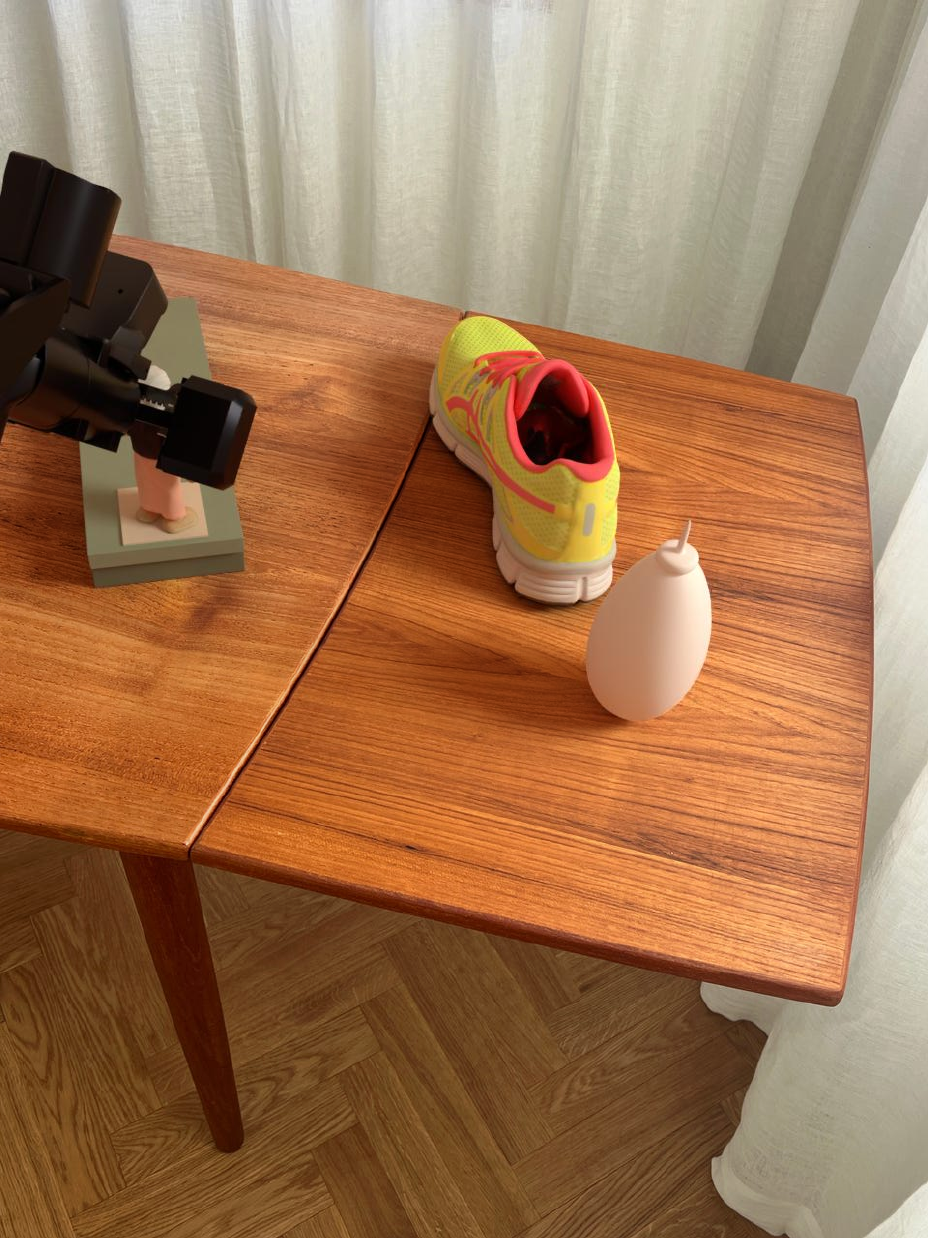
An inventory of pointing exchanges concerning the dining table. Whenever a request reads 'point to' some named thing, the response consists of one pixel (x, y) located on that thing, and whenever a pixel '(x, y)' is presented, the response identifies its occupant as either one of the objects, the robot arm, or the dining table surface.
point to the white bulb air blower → (651, 633)
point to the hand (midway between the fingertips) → (160, 424)
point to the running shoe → (532, 458)
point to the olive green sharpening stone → (112, 495)
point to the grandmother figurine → (157, 470)
